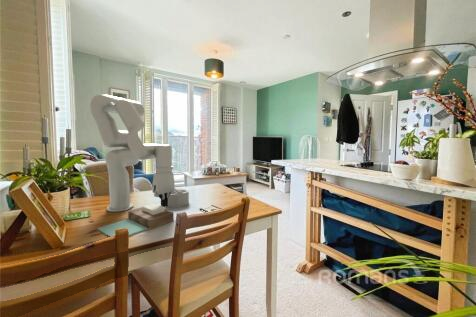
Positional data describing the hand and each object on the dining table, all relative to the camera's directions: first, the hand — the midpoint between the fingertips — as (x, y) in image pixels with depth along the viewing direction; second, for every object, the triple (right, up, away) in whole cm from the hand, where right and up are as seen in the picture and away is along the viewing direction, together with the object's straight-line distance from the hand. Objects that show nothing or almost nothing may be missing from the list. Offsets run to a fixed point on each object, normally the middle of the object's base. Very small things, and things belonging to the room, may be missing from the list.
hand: (164, 206), depth 107 cm
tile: (-4, -1, -5) cm, 6 cm away
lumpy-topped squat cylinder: (+1, -3, +18) cm, 18 cm away
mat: (-12, -6, -16) cm, 21 cm away
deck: (-4, -5, -6) cm, 9 cm away
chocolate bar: (+25, -5, +6) cm, 26 cm away
